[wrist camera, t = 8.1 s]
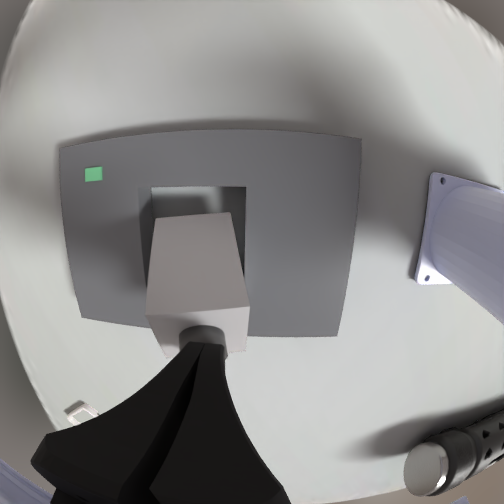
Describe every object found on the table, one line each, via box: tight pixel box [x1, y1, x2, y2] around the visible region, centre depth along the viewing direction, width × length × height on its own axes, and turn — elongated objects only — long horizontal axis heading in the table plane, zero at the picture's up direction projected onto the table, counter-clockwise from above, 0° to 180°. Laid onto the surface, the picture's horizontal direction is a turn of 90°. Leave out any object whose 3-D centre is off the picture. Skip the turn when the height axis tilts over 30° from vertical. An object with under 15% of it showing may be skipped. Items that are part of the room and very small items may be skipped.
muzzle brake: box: [404, 410, 504, 496], centre depth 20 cm, size 10×28×10 cm, turn 81°
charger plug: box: [145, 212, 250, 359], centre depth 13 cm, size 4×4×7 cm
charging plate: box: [60, 129, 362, 337], centre depth 16 cm, size 18×12×2 cm, turn 88°
